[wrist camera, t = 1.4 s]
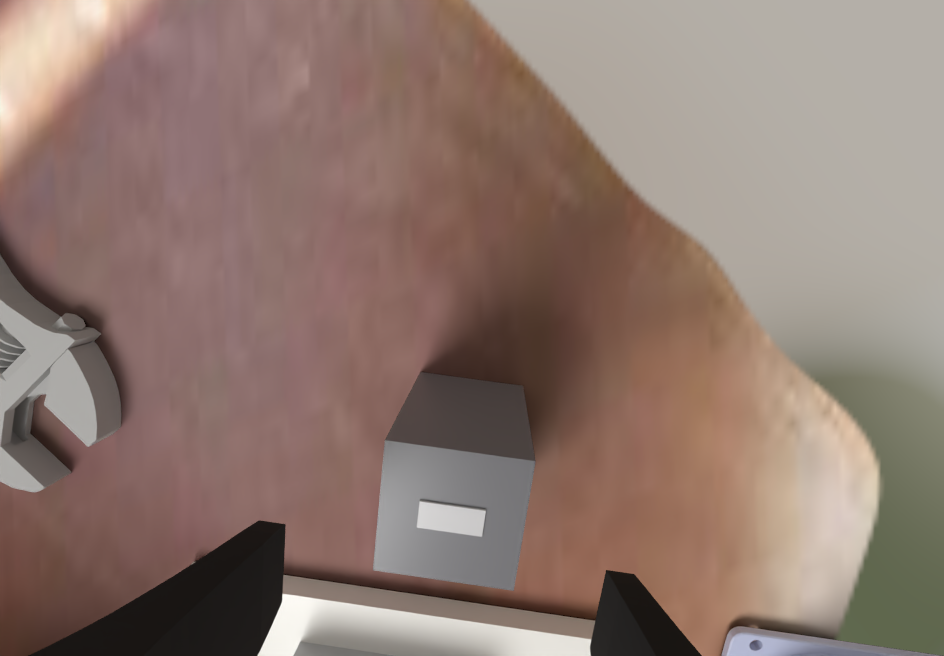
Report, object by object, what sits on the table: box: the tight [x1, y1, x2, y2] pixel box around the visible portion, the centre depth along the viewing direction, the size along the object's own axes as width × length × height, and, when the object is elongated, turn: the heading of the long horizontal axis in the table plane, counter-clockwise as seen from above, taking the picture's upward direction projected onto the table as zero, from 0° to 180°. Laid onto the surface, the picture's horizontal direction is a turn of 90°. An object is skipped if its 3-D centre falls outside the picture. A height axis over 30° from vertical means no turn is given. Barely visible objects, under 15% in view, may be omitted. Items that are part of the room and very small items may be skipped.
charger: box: [373, 372, 535, 591], centre depth 16 cm, size 4×4×6 cm
